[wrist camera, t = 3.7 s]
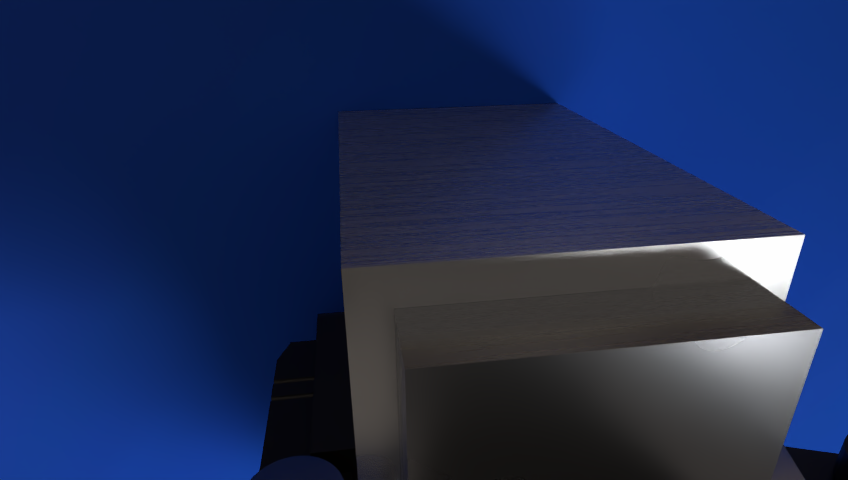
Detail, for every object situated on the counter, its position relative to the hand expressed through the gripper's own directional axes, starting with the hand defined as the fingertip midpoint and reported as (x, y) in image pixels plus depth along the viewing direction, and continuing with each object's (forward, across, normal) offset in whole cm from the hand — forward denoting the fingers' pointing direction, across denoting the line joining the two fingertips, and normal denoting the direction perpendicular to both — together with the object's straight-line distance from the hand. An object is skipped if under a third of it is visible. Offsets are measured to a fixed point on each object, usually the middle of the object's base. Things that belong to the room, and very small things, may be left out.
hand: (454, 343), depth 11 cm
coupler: (+1, 0, 0) cm, 1 cm away
